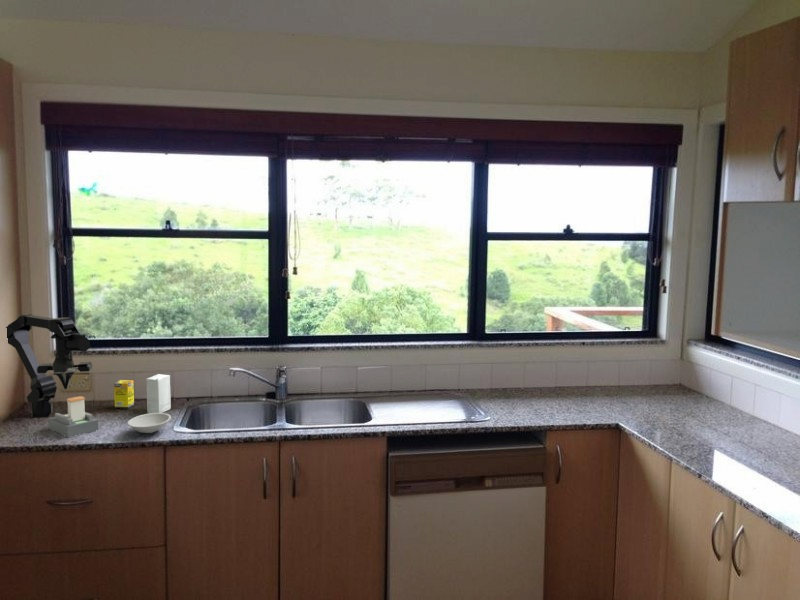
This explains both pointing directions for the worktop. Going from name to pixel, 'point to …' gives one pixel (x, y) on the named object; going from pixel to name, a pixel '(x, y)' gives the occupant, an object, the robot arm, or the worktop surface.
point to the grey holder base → (72, 424)
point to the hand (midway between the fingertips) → (66, 388)
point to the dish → (149, 422)
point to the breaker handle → (76, 408)
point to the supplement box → (124, 394)
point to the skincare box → (158, 393)
